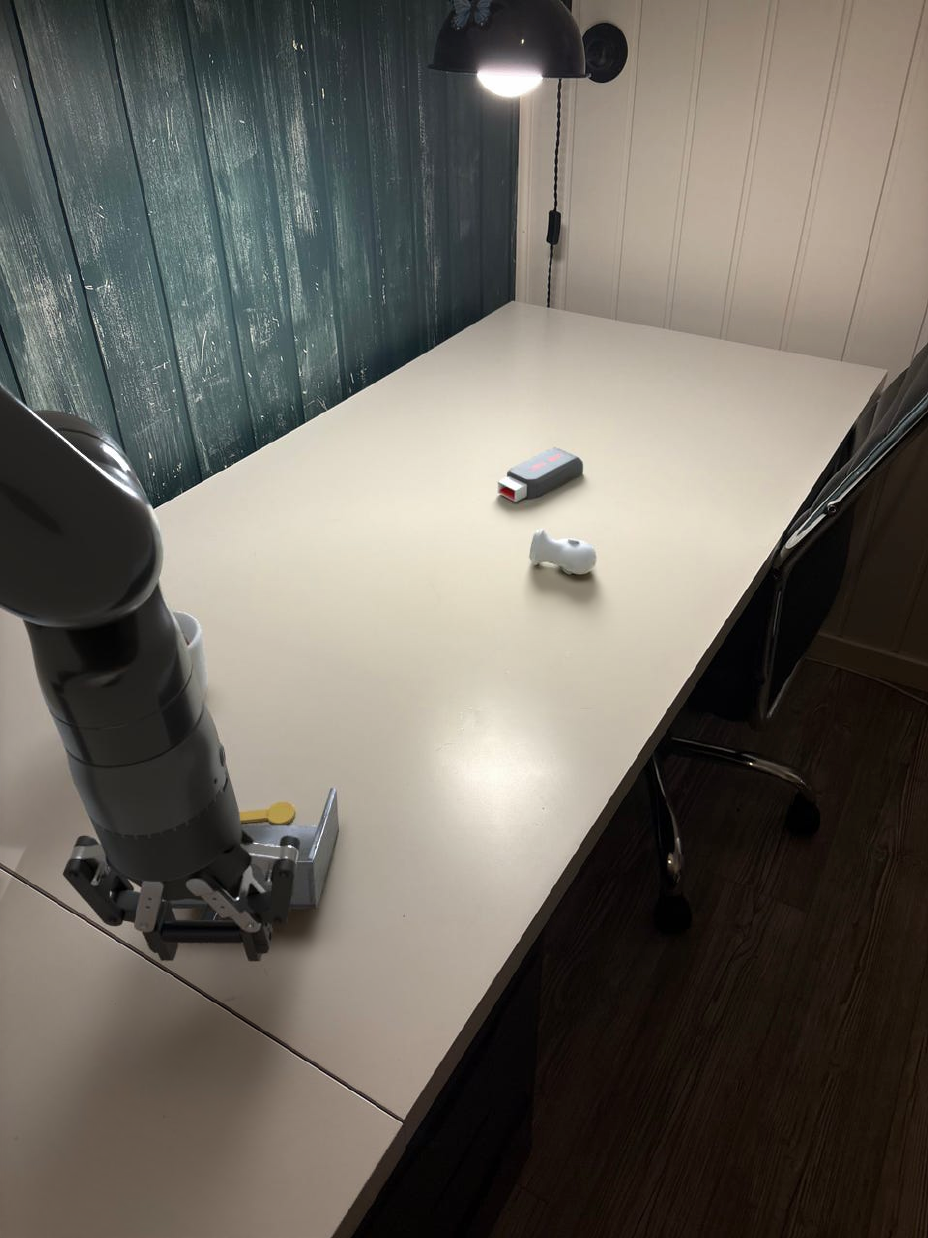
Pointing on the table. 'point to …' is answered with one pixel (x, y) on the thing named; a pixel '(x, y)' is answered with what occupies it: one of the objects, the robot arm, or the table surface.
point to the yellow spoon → (270, 814)
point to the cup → (194, 646)
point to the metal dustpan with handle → (307, 884)
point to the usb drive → (540, 475)
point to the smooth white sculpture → (562, 553)
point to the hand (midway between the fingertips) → (215, 948)
